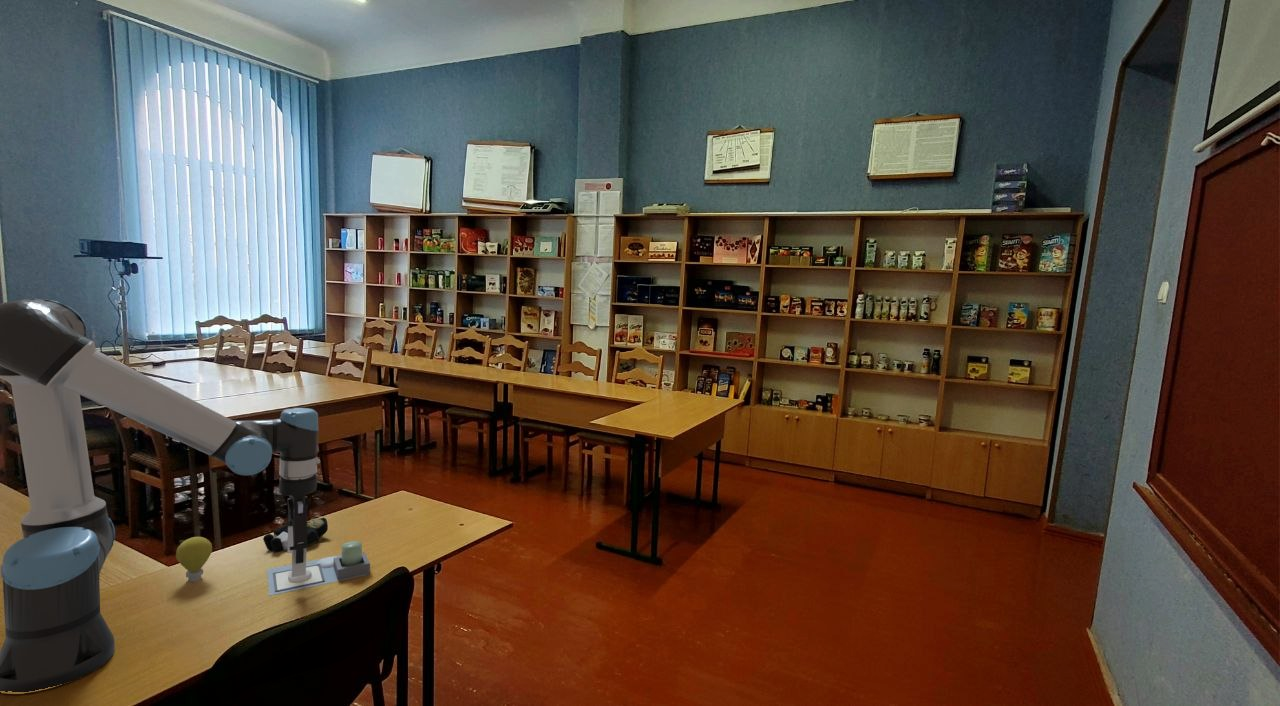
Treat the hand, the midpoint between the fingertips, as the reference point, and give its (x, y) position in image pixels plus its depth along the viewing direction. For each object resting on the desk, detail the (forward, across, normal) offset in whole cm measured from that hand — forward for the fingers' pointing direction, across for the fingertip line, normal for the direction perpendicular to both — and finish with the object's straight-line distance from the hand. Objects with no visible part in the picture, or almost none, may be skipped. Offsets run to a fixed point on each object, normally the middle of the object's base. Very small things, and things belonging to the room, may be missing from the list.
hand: (296, 563), depth 133 cm
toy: (+5, +22, -2) cm, 23 cm away
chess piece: (+4, 0, -1) cm, 4 cm away
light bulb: (+5, +12, +19) cm, 23 cm away
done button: (+1, -2, -12) cm, 12 cm away
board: (+4, +1, -5) cm, 6 cm away
